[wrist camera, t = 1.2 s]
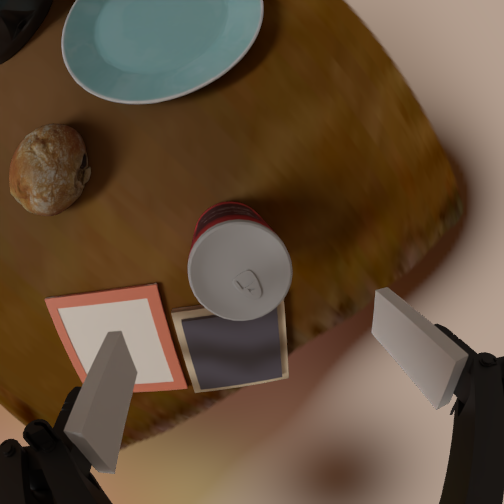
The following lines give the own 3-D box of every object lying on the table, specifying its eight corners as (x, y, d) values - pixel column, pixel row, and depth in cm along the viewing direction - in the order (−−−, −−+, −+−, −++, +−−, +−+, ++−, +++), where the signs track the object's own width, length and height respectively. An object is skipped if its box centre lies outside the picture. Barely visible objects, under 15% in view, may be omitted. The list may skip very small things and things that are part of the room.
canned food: (236, 283, 33) (249, 338, 23) (179, 241, 31) (165, 282, 20) (281, 232, 32) (314, 266, 22) (224, 185, 30) (232, 198, 19)
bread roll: (93, 204, 31) (96, 210, 25) (18, 221, 26) (3, 232, 20) (87, 124, 28) (89, 110, 22) (11, 140, 23) (-6, 131, 17)
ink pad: (172, 308, 33) (170, 315, 31) (281, 292, 34) (284, 298, 33) (195, 387, 37) (195, 395, 36) (287, 373, 38) (289, 380, 37)
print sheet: (46, 297, 30) (44, 299, 30) (157, 282, 32) (156, 284, 31) (88, 390, 35) (87, 392, 35) (187, 386, 37) (187, 388, 36)
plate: (265, 100, 28) (270, 94, 25) (66, 125, 25) (54, 123, 22) (254, -46, 21) (258, -58, 18) (83, -22, 18) (76, -32, 16)
